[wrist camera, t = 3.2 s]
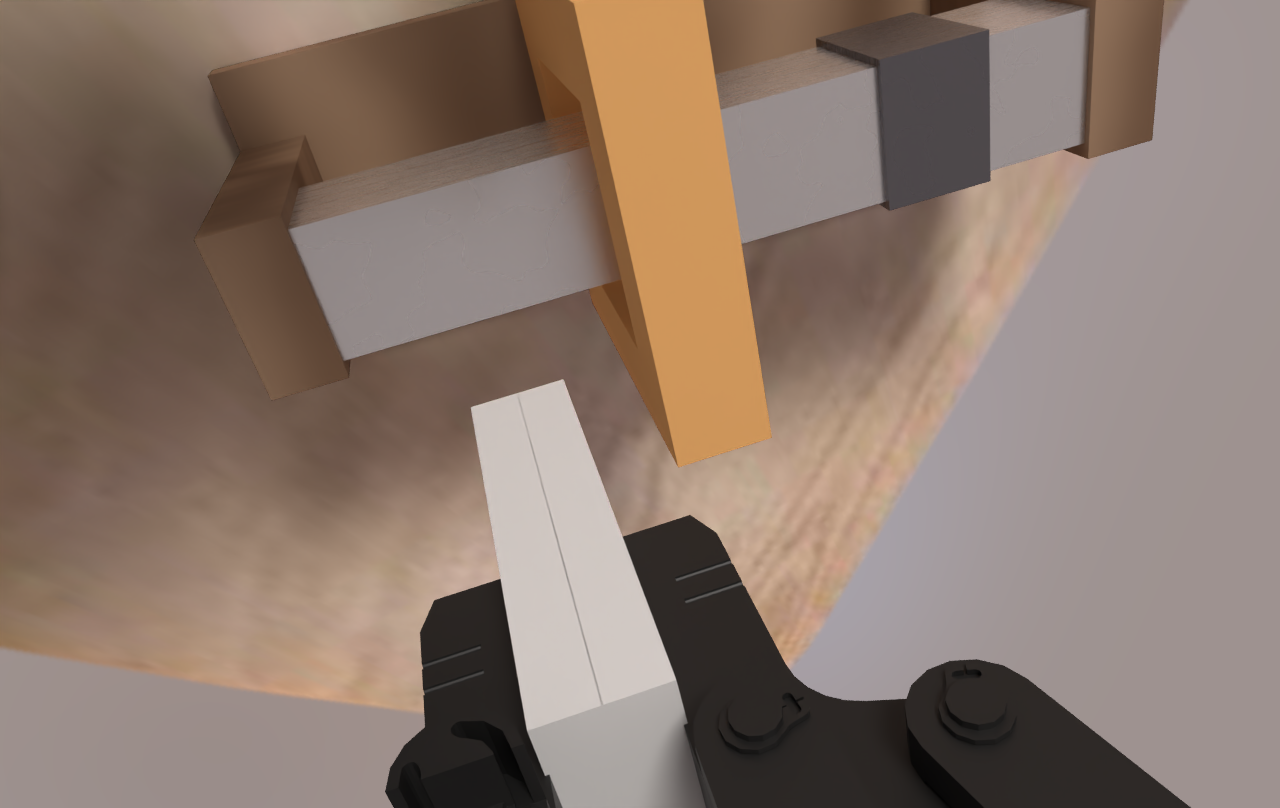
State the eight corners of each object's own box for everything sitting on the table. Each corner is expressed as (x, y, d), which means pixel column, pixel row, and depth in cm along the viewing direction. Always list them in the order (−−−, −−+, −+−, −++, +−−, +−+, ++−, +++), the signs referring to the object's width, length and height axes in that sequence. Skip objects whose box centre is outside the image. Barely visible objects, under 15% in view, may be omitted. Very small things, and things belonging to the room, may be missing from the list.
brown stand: (324, 330, 33) (306, 472, 25) (212, 70, 28) (146, 141, 20) (970, 142, 35) (1145, 216, 27) (966, -124, 31) (1174, -129, 23)
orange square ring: (592, 302, 33) (678, 467, 23) (506, -36, 27) (573, 3, 18) (659, 282, 33) (771, 437, 24) (588, -57, 27) (698, -30, 18)
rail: (333, 315, 27) (327, 376, 24) (278, 184, 25) (262, 230, 22) (1020, 117, 29) (1104, 147, 26) (1021, -18, 27) (1113, -5, 24)
